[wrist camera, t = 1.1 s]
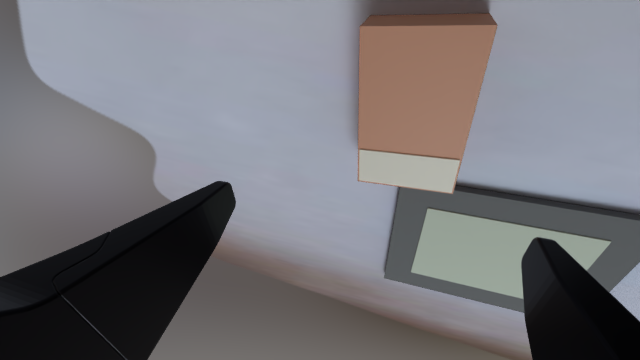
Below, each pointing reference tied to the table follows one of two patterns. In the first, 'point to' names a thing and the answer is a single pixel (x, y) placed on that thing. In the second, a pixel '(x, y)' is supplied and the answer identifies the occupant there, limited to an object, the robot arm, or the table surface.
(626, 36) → the table surface
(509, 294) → the mat
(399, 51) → the block
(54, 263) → the robot arm
